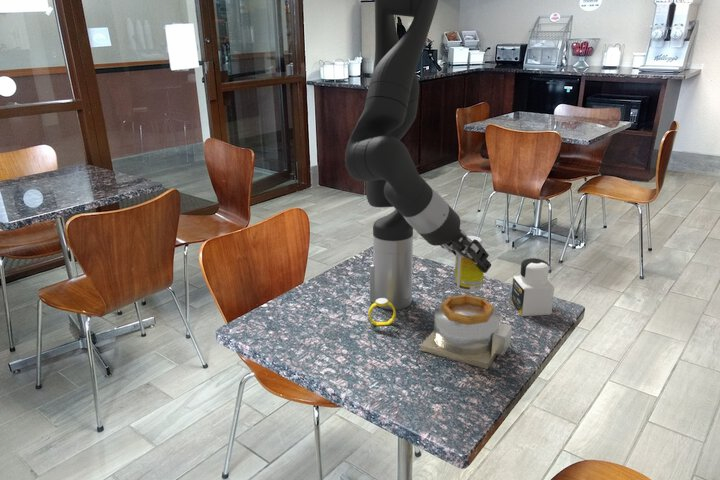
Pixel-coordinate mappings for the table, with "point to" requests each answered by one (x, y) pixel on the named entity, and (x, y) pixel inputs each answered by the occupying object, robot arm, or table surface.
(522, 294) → the medicine bottle
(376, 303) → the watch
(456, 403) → the table surface
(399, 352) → the table surface
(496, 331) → the octagonal rim cylinder base
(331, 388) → the table surface
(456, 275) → the supplement bottle
